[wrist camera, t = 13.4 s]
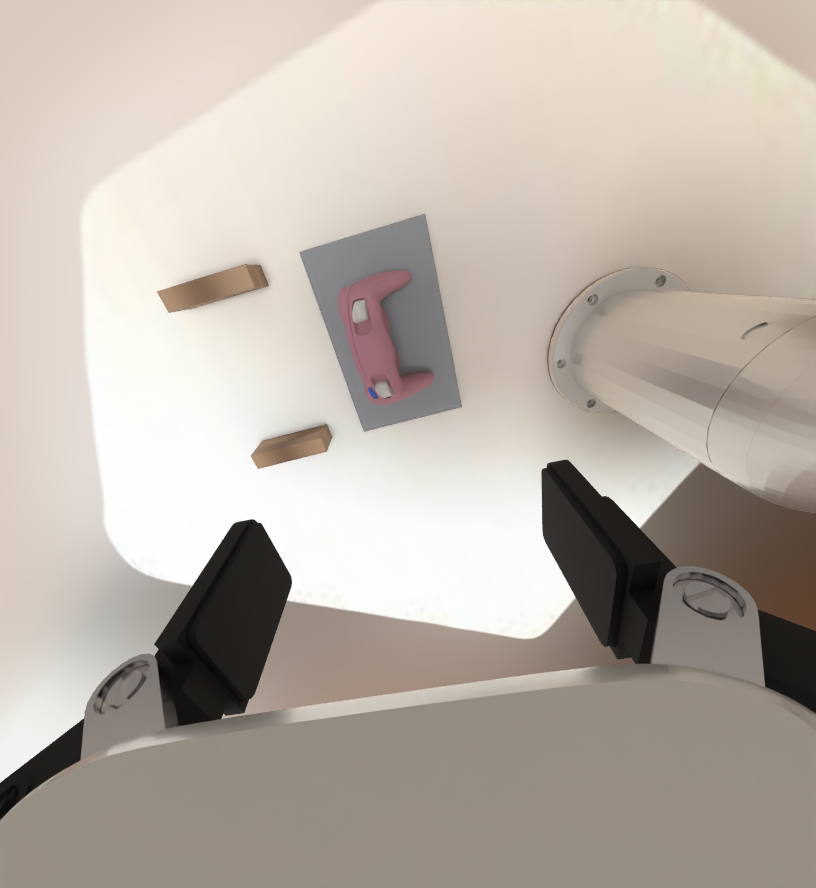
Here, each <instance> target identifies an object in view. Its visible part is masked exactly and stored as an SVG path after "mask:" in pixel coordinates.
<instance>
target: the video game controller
mask: <svg viewBox="0 0 816 888" xmlns="http://www.w3.org/2000/svg"><path fill="white" fill-rule="evenodd" d="M410 280H411V274H410V273H409V272H408V271H405V270H394V271H387V272H383V273H378V274H374V275H372V276H369V277H367V278H365V279H363V280H361V281H358V282H356V283H354V284H352V285H349V286H347V287H344V288H342V289H341V290H340V292H339V296H338V310H339V314H340V317H341V319H342V321H343V323H344V325H345V329H346V334H347V339H348V343H349V347H350V350H351V353H352V357H353V360H354V362H355V365H356V367H357V370H358V373H359V375H360V377H361V379H362V381H363V383H364V389H365V393H366V395H367V398H368V399H369V401H370V402H371V403H372V404H374V405H389V404H392V403H395V402H398V401H400V400H403V399H405V398H407V397H409V396H411V395H413V394H415V393H417V392H419V391H421V390H423V389H425V388H426V387H428V386H429V385H430V384H431V383H432V382H433V380H434V374H433V373H431V372H416V373H412V374H407V375H404V376H401V377H400V375H399V373H398V368H399V363H400V361H399V355H398V352H397V350H396V348H395V347H394V346H393V344H392V341H391V339H390V337H389V334H388V332H389V318H388V315H387V313H386V311H385V309H384V308H382V307H381V305H380V302H381V300H382V299H383V298H385V297H386V296H388V295H389V294H391V293H393V292H395V291H397V290H399V289H401V288H403V287H404V286H405V285H407V284H408V283H409V281H410Z"/></svg>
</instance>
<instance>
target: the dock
mask: <svg viewBox="0 0 816 888" xmlns="http://www.w3.org/2000/svg"><path fill="white" fill-rule="evenodd" d="M266 286H269V285H268V283H267V280H266V278H265V276H264V273H263V271H262V268H261V266H260V265H246V264H245V265H241V266H238V267H235V268H232V269H228V270H225V271H222V272H219V273H215V274H212V275H209V276H206V277H202V278H199V279H196V280H193V281H189V282H186V283H183V284H180V285H176V286H173V287H170V288H167V289H163V290H160V291H157V293H158V295H159V296H160V298H161V300H162V302H163V303H164V305H165V307H166V309H167V310H168V312H169V313H170V312H176V311H182V310H188V309H192V308H196V307H199V306H202V305H206V304H209V303H212V302H216V301H219V300H222V299H226V298H229V297H232V296H236V295H239V294H242V293H246V292H249V291H252V290H256V289H259V288H262V287H266ZM331 439H332V436H331V434H330V431H329V429H328V427H327V425H323V426H319V427H316V428H312V429H308V430H304V431H300V432H296V433H292V434H288V435H285V436H281V437H277V438H273V439H269V440H265V441H262V442H261V443H260V445H259V446H258V447H257V448H256V450H255V451H254V452H253V454H252V455H251V457H252V459H253V461H254V463H255V464H256V466H257V468H258V469H260V468H264V467H268V466H272V465H276V464H279V463H283V462H287V461H291V460H295V459H299V458H303V457H307V456H311V455H315V454H319V453H323V452H327V450H328V447H329V444H330V441H331Z"/></svg>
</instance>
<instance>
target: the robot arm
mask: <svg viewBox="0 0 816 888" xmlns="http://www.w3.org/2000/svg"><path fill="white" fill-rule="evenodd" d="M589 297H590V299H589V301H588V298H589ZM587 301H588V302H587ZM558 360H559V362H558ZM557 362H558V363H557ZM549 371H550V376H551V379H552V381H553V384H554V386H555V388H556V389H557V390H558V392H559V393H560V394H561V396H562V397H564V398H565V399H566V400H567V401H569V402H570V403H572V404H573V405H575V406H577V407H578V408H581V409H584V410H586V411H592V412H613V411H618V412H619V413H621V414H623V415H624V416H626V417H627V418H629V419H631V420H632V421H634V422H636V423H637V424H639V425H641V426H642V427H644V428H645V429H647V430H649V431H650V432H652V433H654V434H655V435H657V436H659V437H660V438H662V439H663V440H665V441H667V442H668V443H670V444H672V445H673V446H675V447H677V448H678V449H680V450H681V451H683V452H685V453H686V454H688V455H690V456H691V457H693V458H694V459H696V460H698V461H699V462H701V463H703V464H704V465H706V466H708V467H709V468H711V469H712V470H714V471H716V472H717V473H719V474H721V475H722V476H724V477H726V478H727V479H729V480H731V481H733V482H734V483H736V484H737V485H739V486H741V487H742V488H744V489H746V490H748V491H750V492H751V493H754V494H756V495H757V496H759V497H761V498H763V499H766V500H768V501H770V502H773V503H776V504H779V505H783V506H786V507H789V508H793V509H796V510H802V511H808V512H814V513H816V299H801V298H784V297H767V296H751V295H734V294H717V293H701V292H690V291H689V289H688V287H687V286H686V285H685V284H684V283H683V282H682V281H681V280H680V279H679V278H678V277H676V276H675V275H673V274H671V273H670V272H667V271H664V270H661V269H657V268H631V269H625V270H622V271H618V272H614V273H612V274H610V275H608V276H606V277H604V278H601V279H599V280H598V281H596V282H595V283H594V284H592V285H591V286H589V287H588V288H586V289H585V290H584V291H583V292H582V293H581V294H580V295H579V296H578V297H577V298H576V299H575V300H574V301H573V302H572V303H571V304H570V306H569V307H568V308H567V310H566V311H565V312H564V314H563V315H562V317H561V319H560V321H559V322H558V324H557V326H556V328H555V331H554V334H553V337H552V339H551V343H550V349H549ZM542 526H543V536H544V539H545V542H546V544H547V546H548V548H549V549H550V551H551V553H552V555H553V557H554V559H555V560H556V562H557V564H558V566H559V568H560V569H561V571H562V573H563V575H564V577H565V579H566V580H567V582H568V584H569V586H570V588H571V589H572V591H573V593H574V595H575V597H576V599H577V600H578V602H579V604H580V606H581V608H582V609H583V611H584V613H585V615H586V617H587V619H588V620H589V622H590V624H591V626H592V627H593V629H594V631H595V633H596V635H597V637H598V638H599V640H600V641H601V643H602V645H603V646H605V647H606V646H610V647H611V649H612V651H613V652H614V654H615V656H616V658H617V659H624V658H630V657H632V659H633V660H634V662H635V664H625V665H610V666H598V667H590V668H582V669H573V670H565V671H556V672H548V673H539V674H531V675H524V676H516V677H509V678H503V679H495V680H488V681H480V682H473V683H465V684H458V685H451V686H444V687H436V688H430V689H423V690H415V691H409V692H402V693H394V694H387V695H380V696H373V697H366V698H359V699H352V700H345V701H339V702H332V703H325V704H318V705H311V706H304V707H298V708H291V709H284V710H278V711H271V712H264V713H257V714H251V715H245V716H237V717H231V718H225V719H221V718H222V715H223V713H224V714H225V715H226V716H227V715H234V714H240V713H244V712H245V709H246V707H247V704H248V701H249V699H251V698H252V697H253V695H254V694H255V692H256V689H257V686H258V683H259V680H260V677H261V674H262V671H263V668H264V665H265V662H266V660H267V657H268V654H269V651H270V648H271V645H272V642H273V639H274V636H275V633H276V630H277V627H278V624H279V621H280V618H281V615H282V612H283V609H284V606H285V604H286V601H287V598H288V595H289V592H290V589H291V585H292V579H291V575H290V573H289V572H288V570H287V568H286V566H285V565H284V563H283V561H282V559H281V557H280V556H279V554H278V552H277V550H276V549H275V547H274V545H273V543H272V541H271V540H270V538H269V536H268V534H267V533H266V531H265V529H264V527H263V525H262V524H261V523H257V522H256V521H255V520H252V519H251V520H246V521H241V522H236V523H234V524H233V525H232V527H231V528H230V530H229V531H228V533H227V534H226V536H225V537H224V539H223V540H222V542H221V543H220V545H219V546H218V548H217V550H216V551H215V553H214V554H213V556H212V557H211V559H210V560H209V562H208V563H207V565H206V566H205V568H204V569H203V571H202V572H201V574H200V575H199V577H198V578H197V580H196V582H195V583H194V585H193V586H192V588H191V589H190V591H189V592H188V594H187V595H186V597H185V598H184V600H183V601H182V603H181V604H180V606H179V607H178V609H177V610H176V612H175V614H174V615H173V617H172V618H171V620H170V621H169V623H168V624H167V626H166V627H165V629H164V630H163V632H162V633H161V635H160V636H159V638H158V639H157V641H156V642H155V644H154V645H155V646H157V648H158V649H159V650H158V652H157V653H156V655H155V656H153V655H151V654H141V655H138V656H136V657H133V658H131V659H129V660H128V661H126V662H124V663H122V664H121V665H120V666H119V667H117V668H116V669H115V670H113V671H112V672H111V673H110V674H109V675H108V676H107V677H106V678H105V679H104V680H103V681H102V682H101V683H100V685H99V686H98V687H97V688H96V690H95V691H94V692H93V694H92V696H91V698H90V699H89V701H88V703H87V706H86V710H85V717H84V719H83V720H81V721H80V722H79V723H77V724H76V725H75V726H74V727H72V728H71V729H70V730H68V731H67V732H66V733H64V734H63V735H62V736H61V737H59V738H58V739H57V740H55V741H54V742H53V743H52V744H50V745H49V746H47V747H46V748H45V749H44V750H42V751H41V752H40V753H39V754H37V755H36V756H34V757H33V758H32V759H31V760H29V761H28V762H27V763H25V764H24V765H23V766H22V767H20V768H19V769H18V770H16V771H15V772H14V773H12V774H11V775H10V776H9V777H7V778H6V779H5V780H3V781H2V782H1V783H0V888H816V631H814V630H811V629H808V628H805V627H803V626H800V625H798V624H795V623H792V622H790V621H787V620H784V619H782V618H779V617H776V616H774V615H771V614H768V613H766V612H763V611H760V610H757V607H756V604H755V601H754V600H753V599H752V597H751V596H750V595H749V594H748V592H747V591H746V590H744V589H743V588H742V587H741V586H740V585H738V584H737V583H736V582H734V581H733V580H731V579H729V578H727V577H726V576H723V575H722V574H719V573H717V572H713V571H711V570H708V569H704V568H699V567H684V566H683V567H679V568H676V567H675V565H673V563H672V562H671V561H670V560H669V559H668V558H667V557H666V556H665V555H664V554H663V553H662V552H661V551H660V550H659V549H658V548H657V546H656V545H655V544H653V542H652V541H651V540H650V539H649V538H648V537H647V536H646V535H645V534H644V533H643V532H642V531H641V530H640V529H639V527H638V526H637V525H636V524H635V523H634V522H633V521H632V520H631V519H630V518H629V517H628V516H627V515H626V514H625V513H624V512H623V511H622V510H621V509H620V507H619V506H618V505H617V504H616V503H615V502H614V501H613V500H612V499H610V498H609V497H606V496H603V497H602V496H601V495H600V494H599V493H598V492H597V491H596V490H595V489H594V487H593V486H592V485H591V484H590V483H589V482H588V481H587V480H586V479H585V478H584V477H583V475H582V474H581V473H580V472H579V471H578V470H577V469H576V468H575V467H574V466H573V465H572V463H571V462H570V461H568V460H561V461H556V462H551V463H548V464H547V468H544V469H542Z"/></svg>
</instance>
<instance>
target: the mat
mask: <svg viewBox="0 0 816 888" xmlns="http://www.w3.org/2000/svg"><path fill="white" fill-rule="evenodd" d="M299 253H300V255H301V258H302V261H303V264H304V266H305V269H306V272H307V275H308V278H309V280H310V283H311V286H312V289H313V291H314V294H315V297H316V300H317V303H318V305H319V308H320V311H321V314H322V316H323V319H324V322H325V325H326V328H327V330H328V333H329V336H330V339H331V341H332V344H333V347H334V350H335V353H336V355H337V358H338V361H339V364H340V366H341V369H342V372H343V375H344V378H345V380H346V383H347V386H348V389H349V391H350V394H351V397H352V400H353V403H354V405H355V408H356V411H357V414H358V416H359V419H360V422H361V425H362V427H363V430H364V432H365V431H369V430H373V429H377V428H381V427H384V426H388V425H392V424H396V423H400V422H404V421H408V420H412V419H416V418H420V417H424V416H428V415H432V414H436V413H440V412H444V411H448V410H451V409H455V408H459V407H461V401H460V396H459V391H458V386H457V380H456V375H455V370H454V365H453V359H452V354H451V349H450V344H449V338H448V333H447V328H446V323H445V317H444V312H443V307H442V302H441V296H440V291H439V286H438V281H437V275H436V270H435V265H434V260H433V254H432V249H431V244H430V239H429V233H428V228H427V223H426V218H425V214H423V215H420V216H417V217H413V218H410V219H407V220H403V221H400V222H397V223H394V224H390V225H387V226H384V227H381V228H377V229H374V230H371V231H368V232H364V233H361V234H358V235H354V236H351V237H348V238H345V239H341V240H338V241H335V242H332V243H328V244H325V245H322V246H319V247H315V248H312V249H309V250H306V251H302V252H299ZM394 270H405V271H408V272H409V273H410V274H411V280H410V281H409V283H408V284H407V285H405V286H404V287H403V288H401V289H399V290H397V291H395V292H393V293H391V294H389V295H388V296H386V297H385V298H383V299H382V300H381V302H380V305H381V307H382V308H384V309H385V311H386V313H387V315H388V318H389V332H388V334H389V337H390V339H391V341H392V344H393V346H394V347H395V348H396V350H397V352H398V355H399V361H400V363H399V368H398V373H399V375H400V377H401V376H404V375H407V374H412V373H416V372H431V373H433V374H434V380H433V382H432V383H431V384H430V385H429V386H428V387H426V388H425V389H423V390H421V391H419V392H417V393H415V394H413V395H411V396H409V397H407V398H405V399H403V400H400V401H398V402H395V403H392V404H389V405H374V404H372V403H371V402H370V401H369V399H368V398H367V395H366V393H365V389H364V383H363V381H362V379H361V377H360V375H359V373H358V370H357V367H356V365H355V362H354V360H353V357H352V353H351V350H350V347H349V343H348V339H347V334H346V329H345V325H344V323H343V321H342V319H341V317H340V314H339V310H338V296H339V292H340V290H341V289H342V288H344V287H347V286H349V285H352V284H354V283H356V282H358V281H361V280H363V279H365V278H367V277H369V276H372V275H374V274H378V273H383V272H387V271H394Z"/></svg>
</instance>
